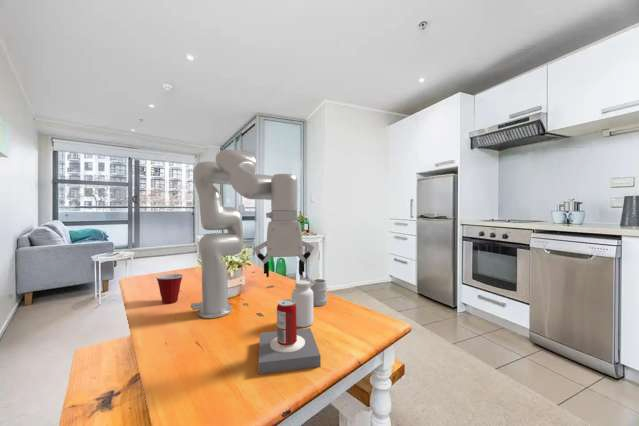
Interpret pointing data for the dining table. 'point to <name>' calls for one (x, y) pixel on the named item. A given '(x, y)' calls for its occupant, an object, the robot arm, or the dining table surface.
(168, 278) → the plastic cup
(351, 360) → the dining table surface
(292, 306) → the soda can
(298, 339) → the base
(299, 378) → the dining table surface
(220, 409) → the dining table surface
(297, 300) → the pill bottle
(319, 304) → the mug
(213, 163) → the robot arm
